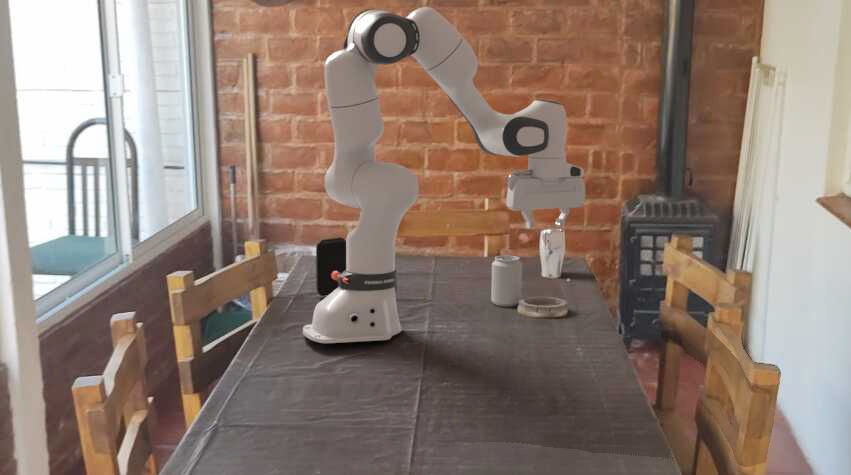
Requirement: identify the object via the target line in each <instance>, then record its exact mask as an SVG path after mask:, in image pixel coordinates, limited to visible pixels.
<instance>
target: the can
mask: <svg viewBox="0 0 851 475" xmlns="http://www.w3.org/2000/svg"><path fill="white" fill-rule="evenodd" d="M494 259H495V260H494V261H493V262H492V263H491V290H490V292H491V293H490V294H491V295H490V297H491V298H490V299H491V302H492V303H493V304H494V305H496V306H497V307H502V308H503V307H504V308H510V307H512V308H513V307H518V305H519V299H522V290H523V289H522V287H523V286H522V285H523V284H522V283H523V264H522V262H521V261H520V259H521V258H520V257H519V256H515V255H497V256H494Z"/></svg>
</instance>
